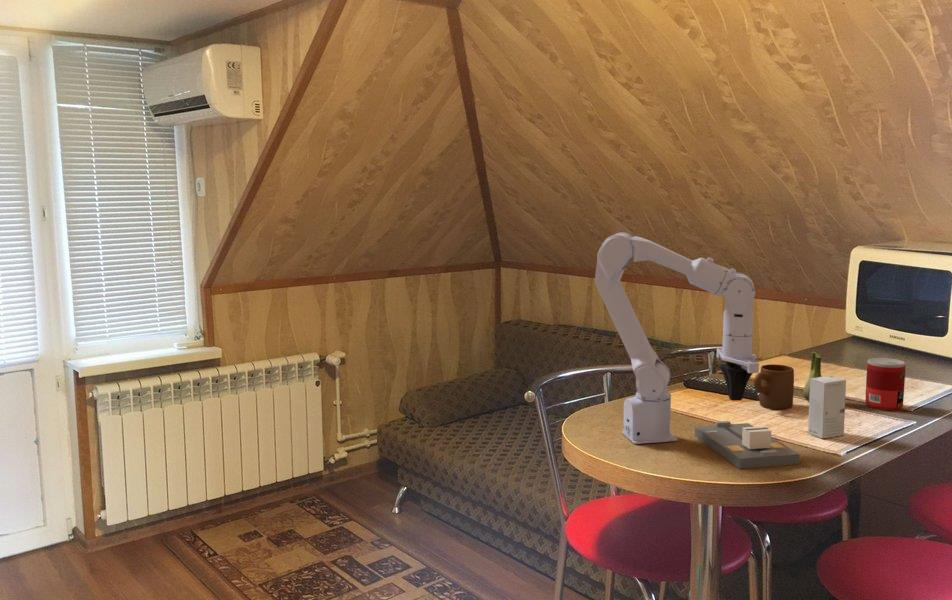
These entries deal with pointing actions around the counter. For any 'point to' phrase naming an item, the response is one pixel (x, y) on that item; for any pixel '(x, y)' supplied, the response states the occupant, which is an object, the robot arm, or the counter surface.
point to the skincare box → (827, 406)
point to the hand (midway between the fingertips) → (735, 399)
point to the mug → (775, 386)
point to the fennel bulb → (813, 373)
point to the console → (730, 446)
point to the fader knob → (756, 437)
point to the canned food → (885, 384)
